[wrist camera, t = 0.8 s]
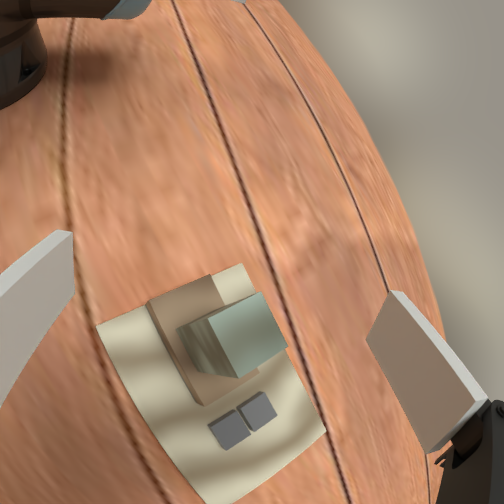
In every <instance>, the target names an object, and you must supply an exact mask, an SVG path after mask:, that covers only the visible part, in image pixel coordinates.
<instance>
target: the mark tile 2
mask: <svg viewBox="0 0 504 504" xmlns="http://www.w3.org/2000/svg"><path fill="white" fill-rule="evenodd" d="M236 408H237V410H238V411H239V413H240V415H241V416H242V418H243V420H244V421H245V423H246V425H247V426H248V428H249V430H251V431H253V432H256V431H257V430H258V429H260V428H261V427H263V426H264V425H265V424H267V423H268V422H270V421H271V420H272V419H274V418H275V417H276V416H278V415H277V413H276V411H275V410H274V408H273V406H272V404H271V403H270V401H269V399H268V397H267V395H266V393H265V392H261V391H259V392H258V393H256V394H255V395H253V396H252V397H250V398H249V399H247V400H246V401H244V402H243V403H241V404H240V405H238V406H237V407H236Z"/></svg>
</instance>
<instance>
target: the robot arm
mask: <svg viewBox="0 0 504 504" xmlns="http://www.w3.org/2000/svg"><path fill="white" fill-rule="evenodd" d="M151 1H152V0H0V109H1V108H4V107H6V106H8V105H10V104H12V103H13V102H15V101H17V100H18V99H20V98H21V97H23V96H24V95H26V94H27V93H28V92H29V91H30V90H31V89H33V88H34V87H35V86H36V84H37V83H38V82H39V81H40V80H41V78H42V77H43V75H44V73H45V70H46V66H47V50H46V46H45V44H44V41H43V38H42V36H41V33H40V30H39V27H38V24H37V18H99V19H101V20H106V19H127V20H128V19H133V18H135V17H137V16H139V15H140V14H142V13H143V12H144V11H145V10H146V8H147V7H148V6H149V4H150V2H151ZM74 294H75V284H74V267H73V232H68V231H63V230H58V229H57V230H55V231H54V232H53V233H51V234H50V235H49V236H47V237H46V238H45V239H43V240H42V241H41V242H39V243H38V244H37V245H35V246H34V247H33V248H32V249H30V250H29V251H28V252H27V253H25V254H24V255H23V256H22V257H20V258H19V259H18V260H17V261H15V262H14V263H13V264H12V265H11V266H9V267H8V268H7V269H6V270H5V271H4V272H3V273H1V274H0V408H1V406H2V404H3V402H4V401H5V399H6V397H7V395H8V393H9V392H10V390H11V388H12V386H13V385H14V383H15V381H16V380H17V378H18V376H19V375H20V373H21V371H22V370H23V368H24V366H25V365H26V363H27V362H28V360H29V358H30V357H31V355H32V354H33V352H34V351H35V349H36V348H37V346H38V345H39V343H40V342H41V340H42V339H43V337H44V336H45V334H46V333H47V331H48V330H49V328H50V327H51V326H52V324H53V323H54V321H55V320H56V319H57V317H58V316H59V314H60V313H61V312H62V310H63V309H64V308H65V306H66V305H67V304H68V302H69V301H70V300H71V298H72V297H73V296H74ZM365 340H366V342H367V343H368V345H369V347H370V349H371V351H372V352H373V354H374V356H375V358H376V360H377V361H378V363H379V365H380V367H381V369H382V370H383V372H384V374H385V376H386V378H387V380H388V382H389V383H390V385H391V387H392V389H393V391H394V393H395V395H396V397H397V398H398V400H399V402H400V404H401V406H402V408H403V410H404V412H405V414H406V416H407V418H408V420H409V422H410V424H411V426H412V428H413V430H414V432H415V434H416V436H417V438H418V440H419V442H420V444H421V446H422V448H423V450H424V452H425V454H428V453H431V452H435V451H438V450H440V449H441V448H442V447H443V446H444V445H445V444H446V443H447V442H448V441H449V440H450V439H451V441H452V443H453V445H452V446H451V447H450V448H449V449H448V450H447V451H446V452H444V453H443V454H442V455H441V456H440V457H439V458H438V459H437V460H436V461H435V463H434V464H436V465H437V464H438V463H439V462H440V461H441V460H443V459H446V460H445V461H444V462H443V463H442V464H441V465H440V466H441V467H443V468H444V471H443V476H442V480H441V485H440V489H439V493H438V497H437V501H436V504H504V402H503V401H500V400H494V401H493V402H492V403H491V402H490V400H489V399H488V397H487V396H486V394H485V392H484V391H483V390H482V389H481V387H480V386H479V384H478V383H477V382H476V380H475V379H474V378H473V376H472V375H471V374H470V372H469V371H468V370H467V368H466V367H465V366H464V364H463V363H462V362H461V361H460V359H459V358H458V357H457V355H456V354H455V353H454V352H453V350H452V349H451V348H450V347H449V346H448V344H447V343H446V342H445V341H444V339H443V338H442V337H441V336H440V334H439V333H438V332H437V331H436V330H435V328H434V327H433V326H432V325H431V324H430V323H429V321H428V320H427V319H426V318H425V317H424V316H423V314H422V313H421V312H420V311H419V310H418V309H417V307H416V306H415V305H414V304H413V303H412V302H411V301H410V300H409V298H408V297H407V296H406V295H405V294H404V293H403V292H400V291H393V290H390V291H389V293H388V295H387V297H386V299H385V302H384V304H383V306H382V308H381V310H380V312H379V314H378V316H377V318H376V320H375V322H374V324H373V326H372V328H371V330H370V332H369V334H368V336H367V338H366V339H365Z"/></svg>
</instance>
